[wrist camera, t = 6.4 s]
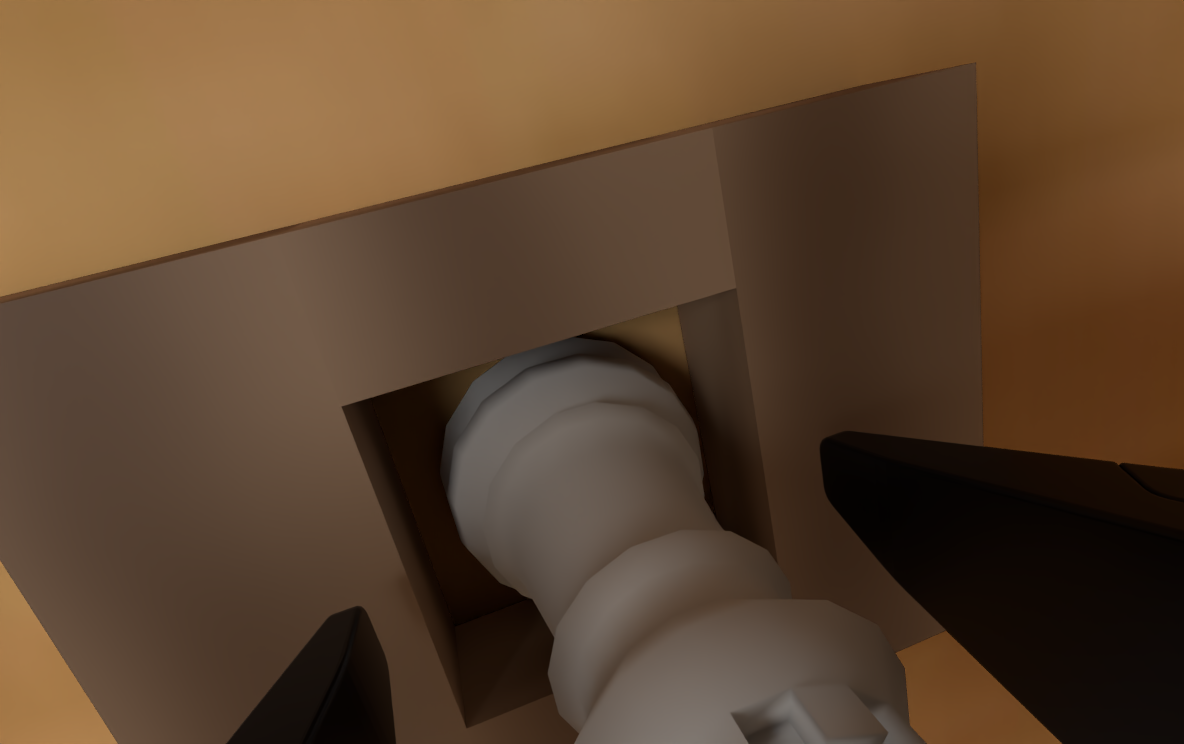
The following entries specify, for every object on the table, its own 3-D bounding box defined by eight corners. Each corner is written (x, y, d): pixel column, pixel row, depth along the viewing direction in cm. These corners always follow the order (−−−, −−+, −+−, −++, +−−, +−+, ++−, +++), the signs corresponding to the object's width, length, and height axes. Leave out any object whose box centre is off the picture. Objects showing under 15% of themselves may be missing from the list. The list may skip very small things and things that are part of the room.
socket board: (862, 85, 12) (976, 62, 9) (896, 546, 15) (986, 612, 13) (-4, 297, 9) (-142, 339, 7) (273, 798, 12) (243, 939, 10)
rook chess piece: (625, 287, 12) (1019, 486, 4) (703, 486, 13) (1088, 883, 6) (391, 401, 11) (365, 863, 4) (503, 594, 13) (645, 1184, 5)
